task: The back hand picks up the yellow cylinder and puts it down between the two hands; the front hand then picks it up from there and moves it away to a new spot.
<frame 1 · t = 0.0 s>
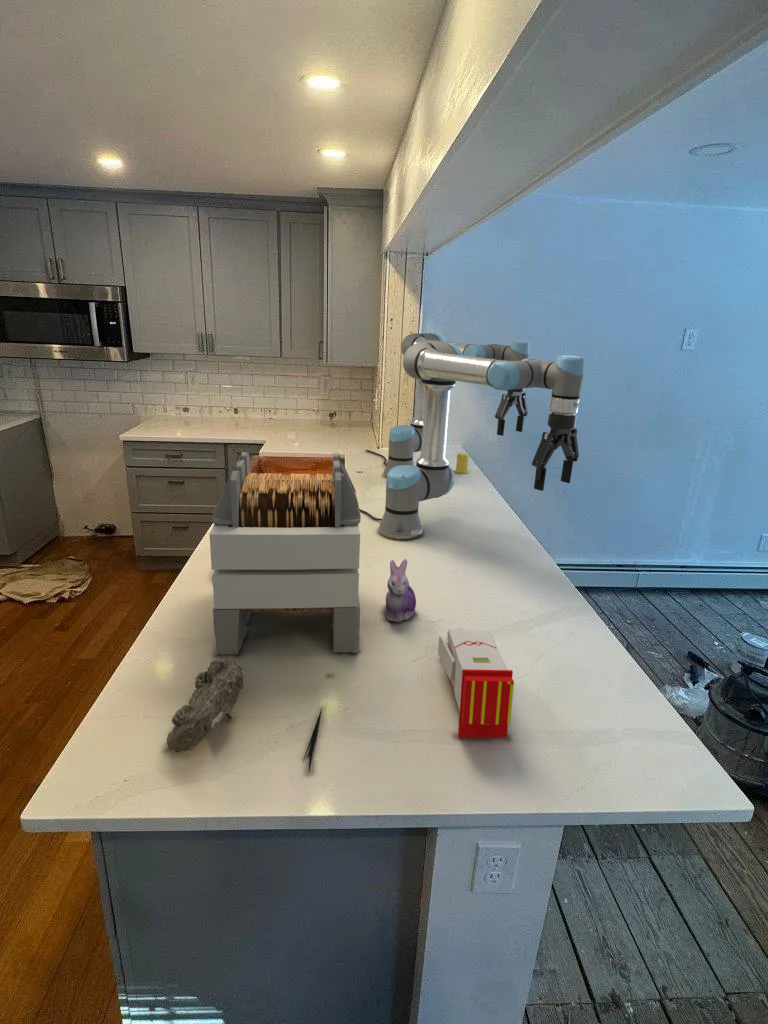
front hand: (552, 485, 166), 28 cm above the counter, tool pointing down, fingers open, 13 cm apart
back hand: (509, 433, 235), 28 cm above the counter, tool pointing down, fingers open, 13 cm apart
fossil: (212, 717, 108), on the counter
figurine: (399, 614, 147), on the counter
feather: (319, 719, 109), on the counter
transformer: (291, 617, 144), on the counter
yellow cylinder: (461, 472, 280), on the counter
toy: (469, 691, 119), on the counter
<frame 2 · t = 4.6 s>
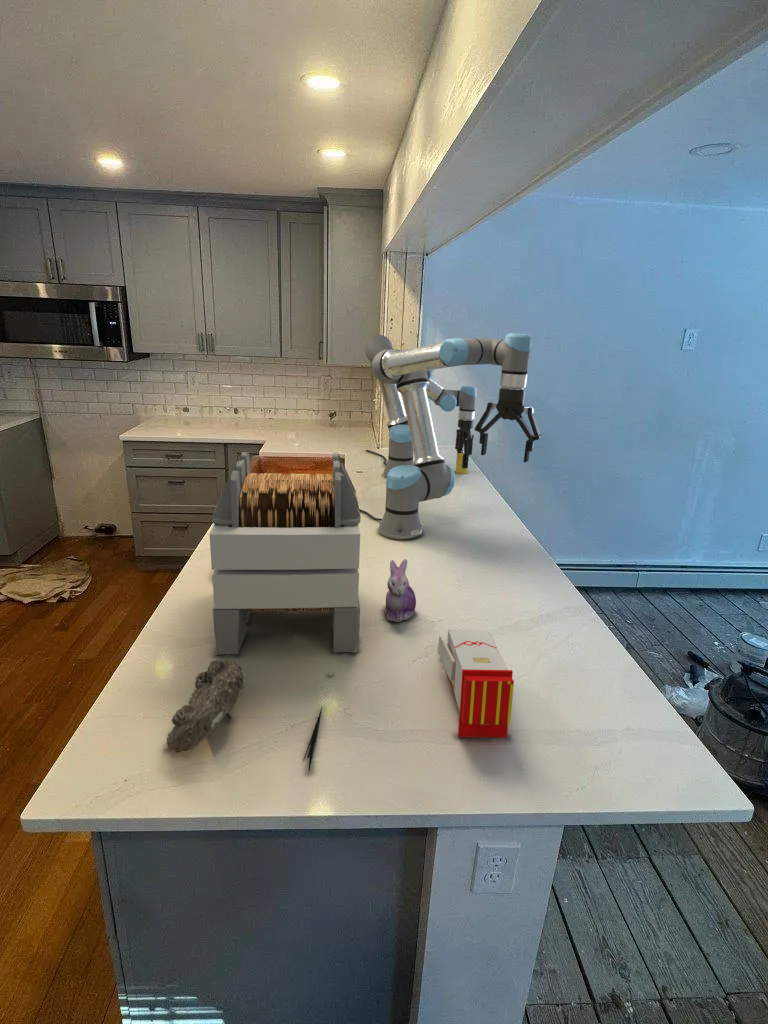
front hand: (504, 457, 175), 33 cm above the counter, tool pointing down, fingers open, 13 cm apart
back hand: (461, 466, 279), 3 cm above the counter, tool pointing down, fingers closed on yellow cylinder, 5 cm apart
yellow cylinder: (461, 472, 280), on the counter, touching back hand
everything else where it was.
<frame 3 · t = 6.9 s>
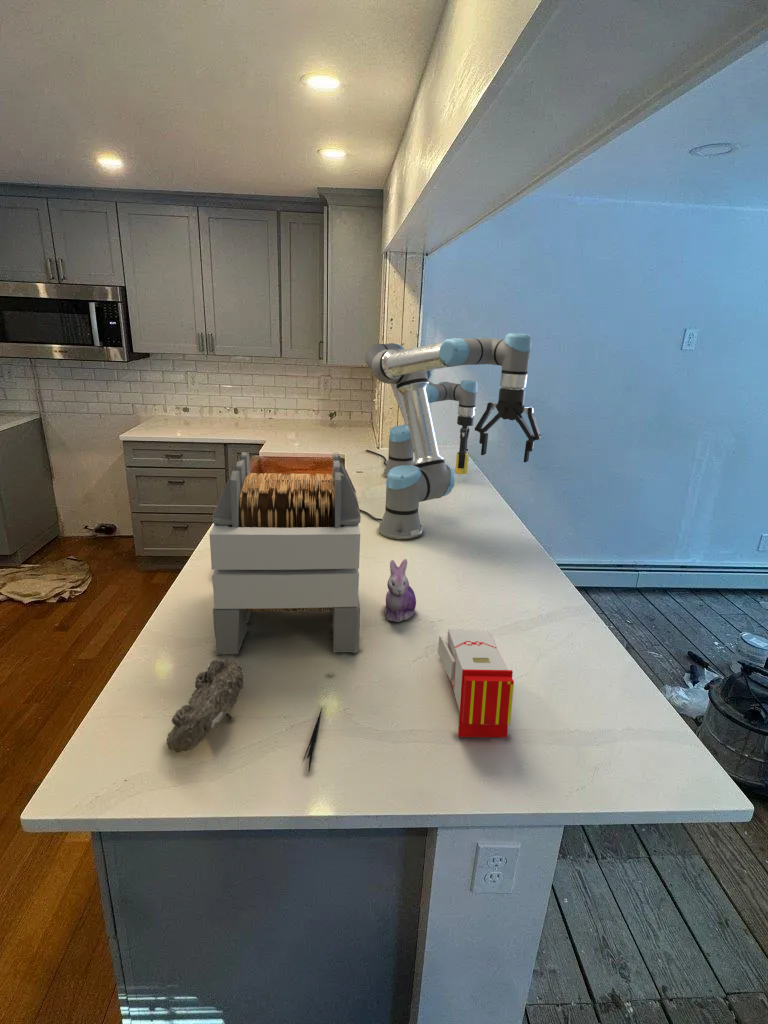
front hand: (504, 457, 175), 33 cm above the counter, tool pointing down, fingers open, 13 cm apart
back hand: (461, 466, 260), 8 cm above the counter, tool pointing down, fingers closed on yellow cylinder, 5 cm apart
yellow cylinder: (461, 472, 261), point 5 cm above the counter, touching back hand
everything else where it was.
when the back hand's fingers open (5 cm above the counter, at t = 9.2 s): yellow cylinder drops 2 cm, on the counter.
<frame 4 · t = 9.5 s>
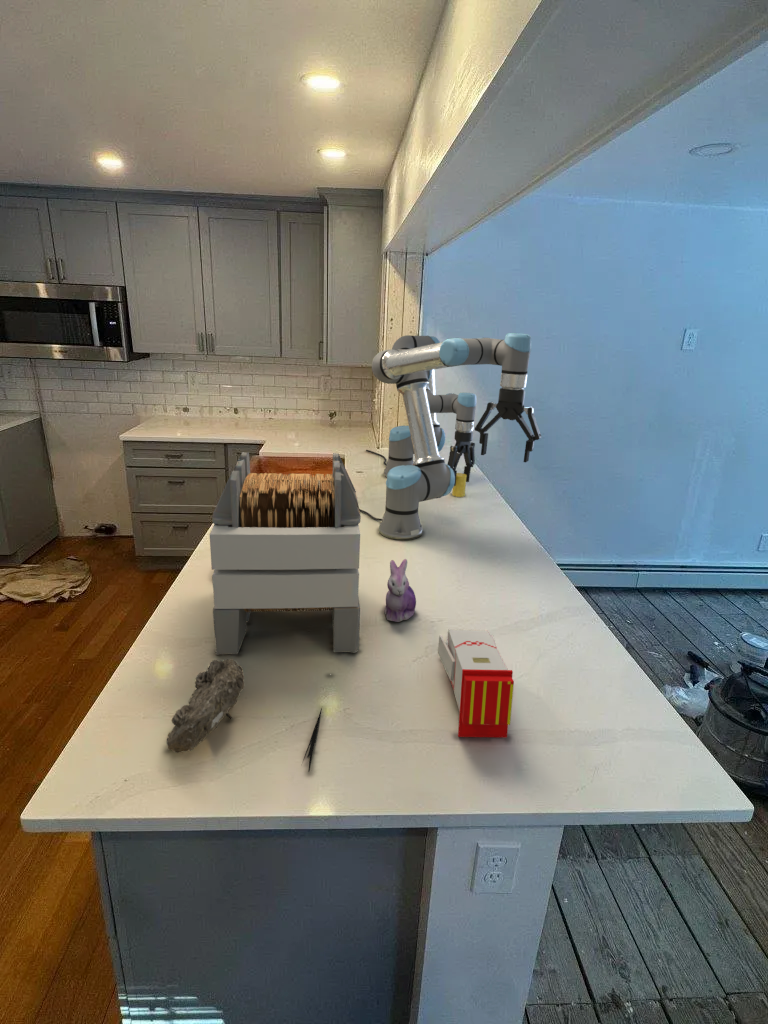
front hand: (504, 457, 175), 33 cm above the counter, tool pointing down, fingers open, 13 cm apart
back hand: (459, 483, 243), 5 cm above the counter, tool pointing down, fingers open, 8 cm apart
yellow cylinder: (458, 495, 245), on the counter
everything else where it was.
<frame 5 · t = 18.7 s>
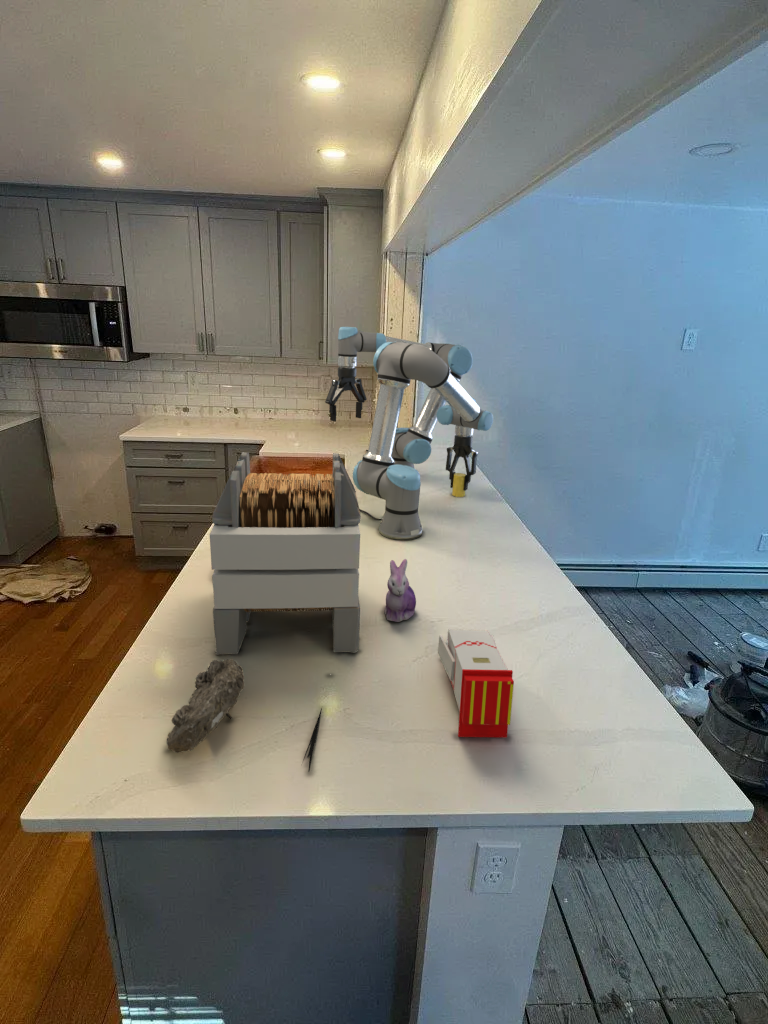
front hand: (458, 488, 244), 3 cm above the counter, tool pointing down, fingers closed on yellow cylinder, 5 cm apart
back hand: (346, 419, 236), 30 cm above the counter, tool pointing down, fingers open, 13 cm apart
yellow cylinder: (458, 495, 245), on the counter, touching front hand
everything else where it was.
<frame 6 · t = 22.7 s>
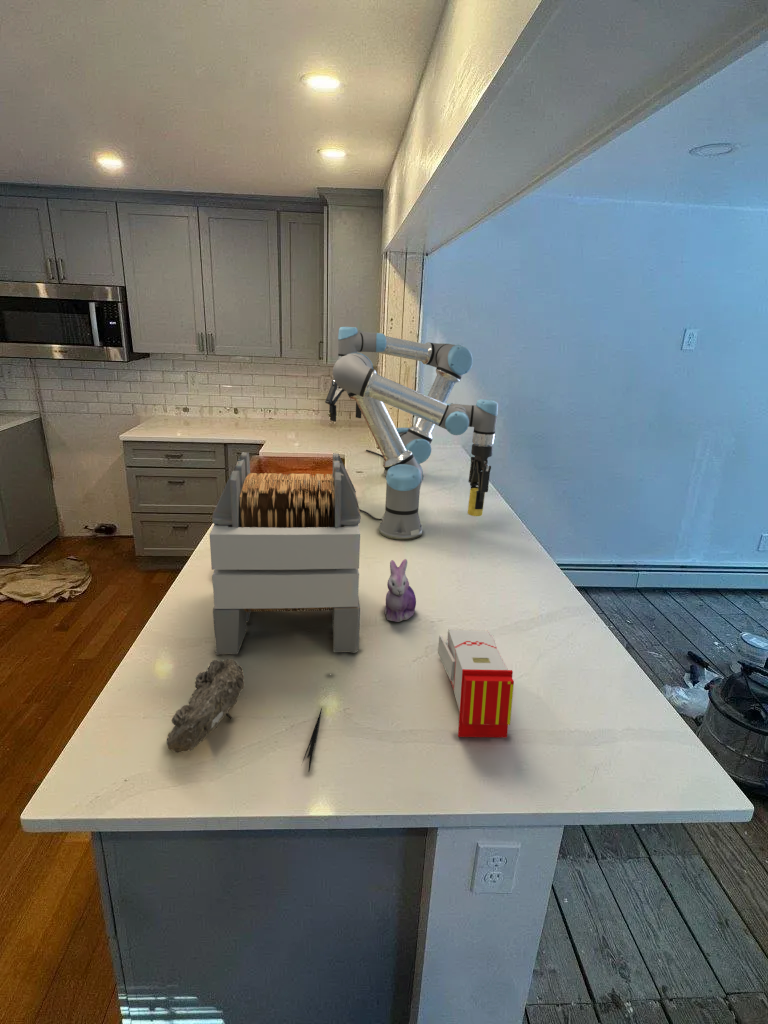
front hand: (475, 505, 209), 8 cm above the counter, tool pointing down, fingers closed on yellow cylinder, 5 cm apart
back hand: (346, 419, 236), 30 cm above the counter, tool pointing down, fingers open, 13 cm apart
yellow cylinder: (474, 513, 210), point 5 cm above the counter, touching front hand
everything else where it was.
when the front hand's fingers open (5 cm above the counter, at t = 27.0 s): yellow cylinder drops 2 cm, on the counter.
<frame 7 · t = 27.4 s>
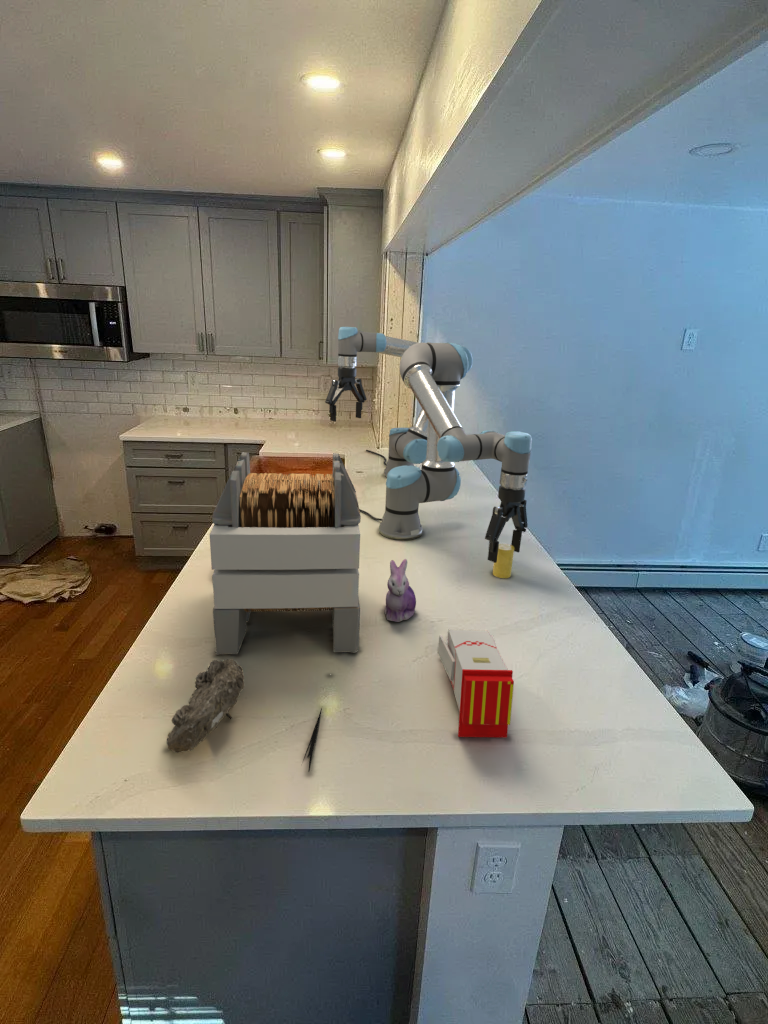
front hand: (503, 555, 170), 6 cm above the counter, tool pointing down, fingers open, 11 cm apart
back hand: (346, 419, 236), 30 cm above the counter, tool pointing down, fingers open, 13 cm apart
yellow cylinder: (501, 574, 173), on the counter
everything else where it was.
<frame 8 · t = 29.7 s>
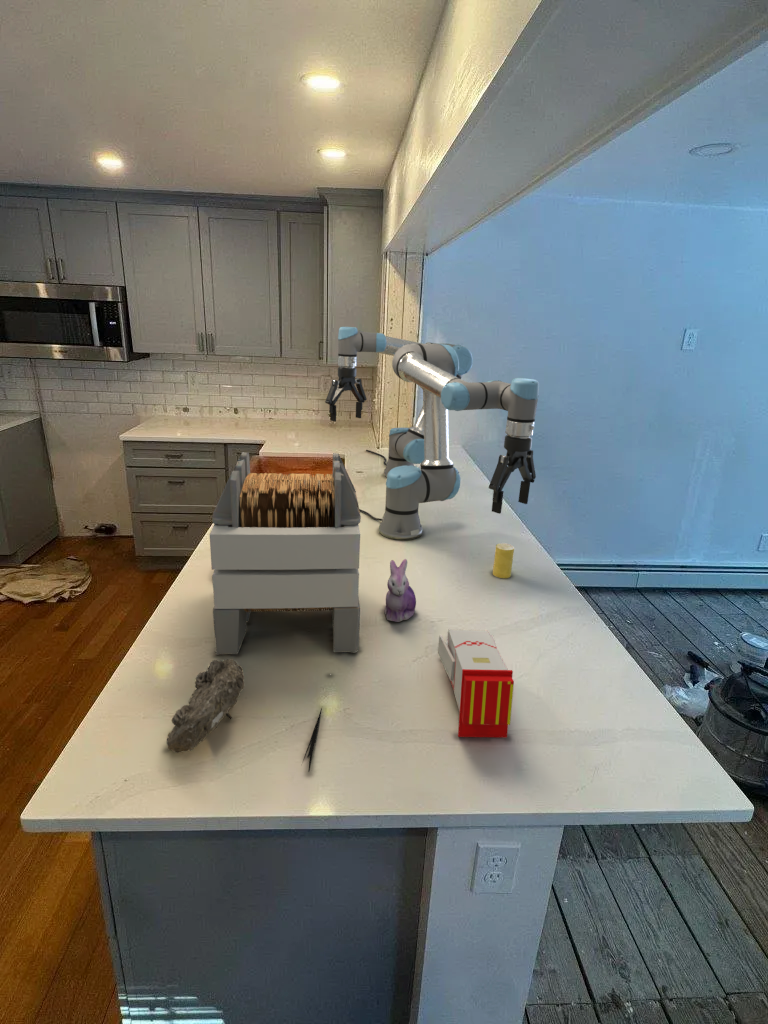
front hand: (509, 507, 165), 22 cm above the counter, tool pointing down, fingers open, 13 cm apart
back hand: (346, 419, 236), 30 cm above the counter, tool pointing down, fingers open, 13 cm apart
nothing on the counter moved.
at the end: yellow cylinder inside the target area (0.0 cm from its centre), on the counter; yellow cylinder tilted 0°; the two hands never held the yellow cylinder at the same time; the front hand is holding nothing; the back hand is holding nothing; yellow cylinder at rest at the end (0.0 cm/s) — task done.
